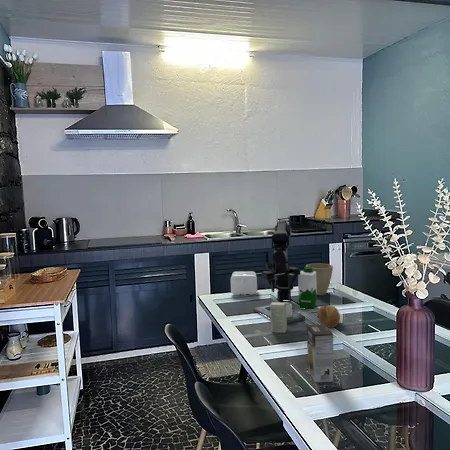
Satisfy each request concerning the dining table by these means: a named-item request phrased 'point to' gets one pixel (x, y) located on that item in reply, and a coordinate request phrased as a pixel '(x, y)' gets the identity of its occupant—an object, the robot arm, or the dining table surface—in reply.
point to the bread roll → (329, 316)
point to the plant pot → (322, 276)
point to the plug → (288, 309)
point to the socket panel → (294, 318)
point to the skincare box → (278, 317)
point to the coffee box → (320, 352)
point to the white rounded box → (244, 283)
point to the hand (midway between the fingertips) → (281, 290)
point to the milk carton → (307, 288)
